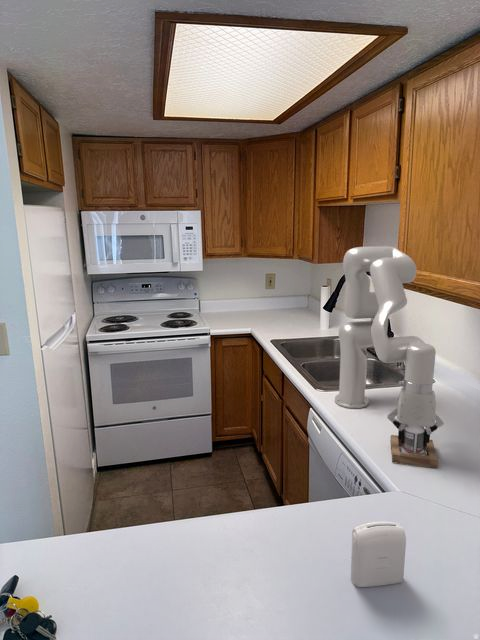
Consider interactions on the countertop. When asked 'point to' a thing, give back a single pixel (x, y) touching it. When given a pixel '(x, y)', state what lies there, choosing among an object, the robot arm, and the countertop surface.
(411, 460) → the walnut dock
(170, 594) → the countertop surface
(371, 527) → the photo printer
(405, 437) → the pill bottle
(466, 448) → the countertop surface
